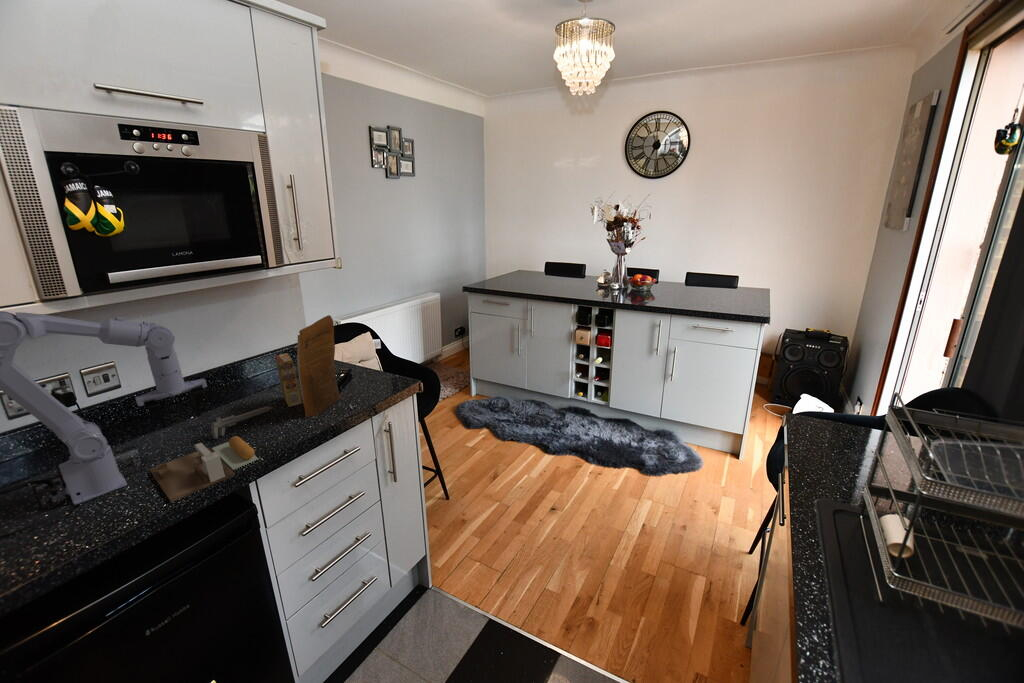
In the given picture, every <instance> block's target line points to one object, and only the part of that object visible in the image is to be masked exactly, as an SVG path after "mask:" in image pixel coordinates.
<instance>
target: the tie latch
mask: <svg viewBox="0 0 1024 683" xmlns="http://www.w3.org/2000/svg"><path fill="white" fill-rule="evenodd" d="M194 447H195V450H196V452H197V451H198V452H199V453H200V454H201V455H202V456H203V457H201V459H202V462H203V466H204V469H205V473H206V475H207V479H208V480H209V481H210V482H214V481H216V480H218V479H221V478H223V477H225V474H224V470H223V467H222V463H221V460H222V459H221V458H220V456H219V455H218V454H217V453H216V452H214V451H213V453H211V452H210V451H209V450H208V449H207V448H208V447H206V445H204V444H203V443H202V442H199V443H196V444H194Z"/></svg>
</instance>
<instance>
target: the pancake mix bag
mask: <svg viewBox="0 0 1024 683" xmlns="http://www.w3.org/2000/svg"><path fill="white" fill-rule="evenodd" d="M333 320H334V319H333V318H332V316H331V315H326V316H324V317H322V318H320V319H318V320H316V321H315V322H314V323H312V324H310V325H308V326H306V327H304V328H302V329H301V330H299V331H298V333H299V334H297V351H296V352H297V357H296V358H297V370H298V377H299V378H298V379H299V385H300V389H301V397H302V398H301V399H302V401H303V402H302V403H303V407H304V411H305V412H304V414H305V418H309V417H315V416H318V415H320V414H322V413H323V412H325V411H326V410H327V409H329V408H330V407H332V406H333V405H334V404H336V403H338V402H339V401H341V394H340V392H339V387H338V386H339V385H338V382H337V374H336V367H335V365H336V364H335V356H336V355H335V354H336V345H335V344H336V343H335V325H334V321H333Z"/></svg>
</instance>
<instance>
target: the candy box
mask: <svg viewBox="0 0 1024 683" xmlns="http://www.w3.org/2000/svg"><path fill="white" fill-rule="evenodd" d="M274 362H275V365H276V369H277V372H278V379H279V381H280V386H281V387H280V388H281V391H282V395H283V398H284V401H285V402H286V404H287V406H288V407H289V408H290V407H294V406H298V405H301V404H302V403H303V402H302V398H301V397H302V396H301V394H300V389H299V384H298V379H297V373H296V371H295V365H294V360H293V359H292V357H291V356H290V355H289V354H288V353H287V352H286V353H282V354H276V355H274Z"/></svg>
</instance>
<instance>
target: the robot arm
mask: <svg viewBox="0 0 1024 683" xmlns="http://www.w3.org/2000/svg"><path fill="white" fill-rule="evenodd" d="M48 334H54V335H55V334H57V335H68V336H80V337H81V336H82V337H90V338H91V337H93V338H94V337H95V338H98V339H99V340H100V341H101V342H102V343H103V344H106V345H116V346H124V347H126V346H127V347H134V348H139V347H144V346H145V347H144V348H145V351H146V355H147V361H148V364H149V367H150V370H151V374H152V377H153V380H154V385H155V388H156V389H155V390H152V391H149V392H147V393H143V394H141V395H138V396H135V397H134V398H135V402H136V404H137V406H138V407H141V406H144V407H145V409H147V410H148V412H150V413H151V414H152V415H153V417H155V418H156V421H157V422H158V424H159V426H160V427H161V429H166V428H167V427H166V423H165V421H164V418H163V414H162V412H161V406H160V405H159V404H158V401H159V400H163V399H166V398H170V397H173V396H177V395H181V394H184V393H187V392H188V393H189V396H190V399H191V402H192V407H193V411H194V414H195V416H196V417H197V418H200V417H201V415H202V414H201V409H202V408H201V407H202V403H203V397H204V396H205V388H207V387H208V385H207V384H208V383H207V380H206V379H205V378H200V379H195V380H189V381H185V380H184V376H183V373H182V369H181V366H180V361H179V359H178V355H177V352H176V351H175V346H174V343H175V339H176V337H175V335H174V334H173V333H172V331H171V330H170V329H169V328H167V327H165V326H164V325H161V324H159V323H155V322H148V321H145V320H143V321H142V322H137V321H136V322H135V321H129V320H125V319H124V318H123V317H120V316H119V317H118V316H116V317H114V318H107V319H105V320H104V321H101V322H94V321H88V320H87V321H86V320H82V319H75V318H74V319H73V318H68V317H62V316H57V315H49V314H41V313H33V312H15V314H14V313H12V312H9V311H5V310H4V311H3V310H0V391H1V392H2V393H3V394H5V395H7V396H8V397H9V398H10V399H12V401H14V402H15V403H16V404H18V405H20V407H22V408H23V409H24V410H25V411H27V412H28V413H29V414H30V415H32V416H33V417H35V418H36V419H37V420H38V421H40V422H41V423H42V424H44V425H45V427H47V428H48V429H50V430H51V431H52V432H53V433H54V434H55V435H56V436H57V437H58V439H59V440H60V441H61V442H62V443H63V444H65V445H66V446H67V447H68V452H69V454H70V456H68V459H69V460H67V461H65V462H63V463H59V464H58V467H59V470H60V472H61V473H60V474H61V475H62V476H61V477H62V478H63V481H64V484H65V491H66V494H67V495H68V496H70V498H71V501H72V504H73V505H75V506H76V505H78V504H82V503H84V502H87V501H90V500H92V499H94V498H97V497H100V496H102V495H105V494H108V493H110V492H113V491H115V490H119V489H121V488H123V487H126V486H128V483H127V481H126V479H125V477H124V476H123V474H122V472H120V471H119V467H118V465H117V461H116V459H115V456H114V455H115V454H114V453H113V451H112V448H111V445H109V444H108V440H107V439H106V436H104V435H103V433H102V430H101V428H100V426H99V425H97V424H96V423H94V422H92V421H91V422H90V421H87V420H84V419H83V418H81V417H80V416H79V415H77V414H76V413H73V412H72V411H71V410H70V409H69V408H68V407H67V406H65V405H64V404H63V403H61V402H60V401H59V400H58V399H57V398H55V396H53V395H52V394H51V393H50V392H48V391H47V390H46V389H45V388H44V387H43V386H41V385H40V384H39V383H38V382H37V381H36V380H34V379H33V378H32V377H31V376H29V375H28V374H27V373H26V372H25V371H23V369H21V368H20V367H19V366H17V365H16V364H15V363H14V362H13V361H14V358H15V354H16V350H17V349H18V348H19V346H20V345H21V344H22V343H23V341H24V340H25V339H26V336H27V335H28V336H29V338H30V340H34V339H36V338H39V337H42V336H44V335H48Z"/></svg>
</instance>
